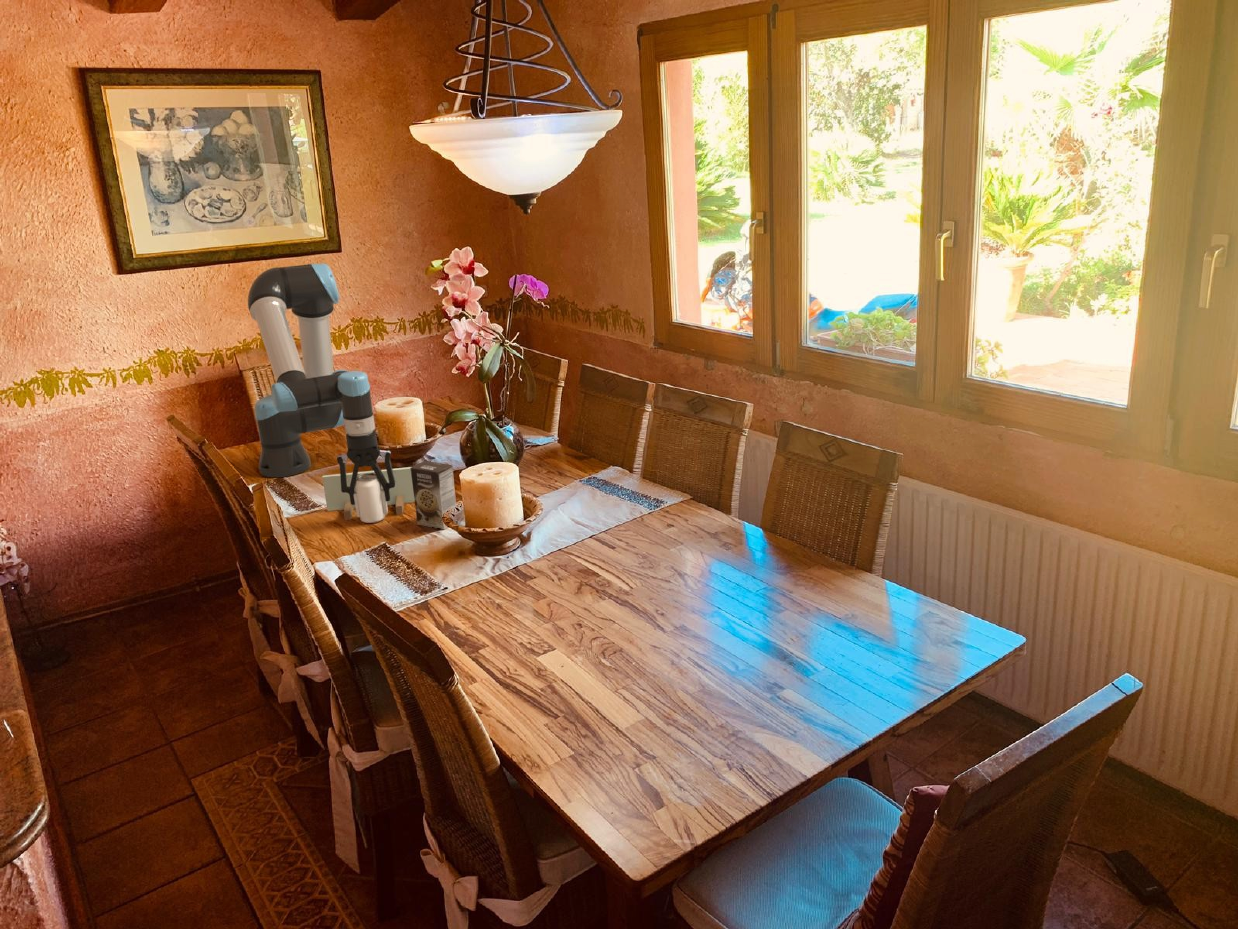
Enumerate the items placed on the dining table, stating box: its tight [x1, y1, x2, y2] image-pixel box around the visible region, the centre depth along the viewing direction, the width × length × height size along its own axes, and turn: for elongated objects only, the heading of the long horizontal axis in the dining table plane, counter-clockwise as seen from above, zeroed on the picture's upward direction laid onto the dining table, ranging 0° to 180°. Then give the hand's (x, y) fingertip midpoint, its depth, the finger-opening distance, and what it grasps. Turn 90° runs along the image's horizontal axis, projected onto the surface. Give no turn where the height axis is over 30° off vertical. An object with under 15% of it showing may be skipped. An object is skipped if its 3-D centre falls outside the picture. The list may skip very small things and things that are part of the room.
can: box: [355, 473, 386, 524], centre depth 244 cm, size 6×6×12 cm
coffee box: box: [410, 460, 457, 530], centre depth 239 cm, size 9×6×16 cm
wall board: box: [321, 466, 415, 521], centre depth 250 cm, size 9×26×10 cm, turn 100°
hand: (372, 513), depth 246 cm, fingers closed on can, 6 cm apart
